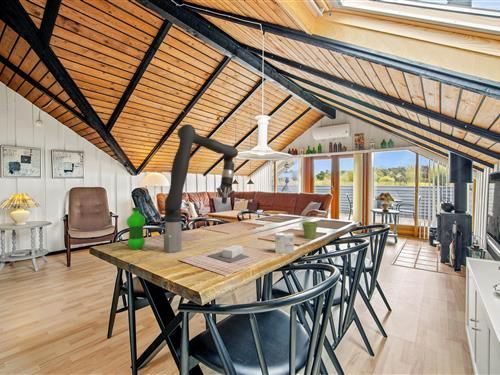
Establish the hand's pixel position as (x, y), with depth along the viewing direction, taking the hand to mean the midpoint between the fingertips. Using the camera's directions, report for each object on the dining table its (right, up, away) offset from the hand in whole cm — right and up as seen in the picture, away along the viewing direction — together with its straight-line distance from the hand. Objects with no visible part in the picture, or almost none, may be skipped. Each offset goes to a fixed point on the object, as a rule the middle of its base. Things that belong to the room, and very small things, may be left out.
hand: (223, 203), depth 163 cm
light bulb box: (+37, -27, -17) cm, 49 cm away
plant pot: (+60, -27, +21) cm, 69 cm away
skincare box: (+10, -24, -20) cm, 33 cm away
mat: (+5, -27, -26) cm, 38 cm away
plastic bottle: (-53, -27, -8) cm, 60 cm away
